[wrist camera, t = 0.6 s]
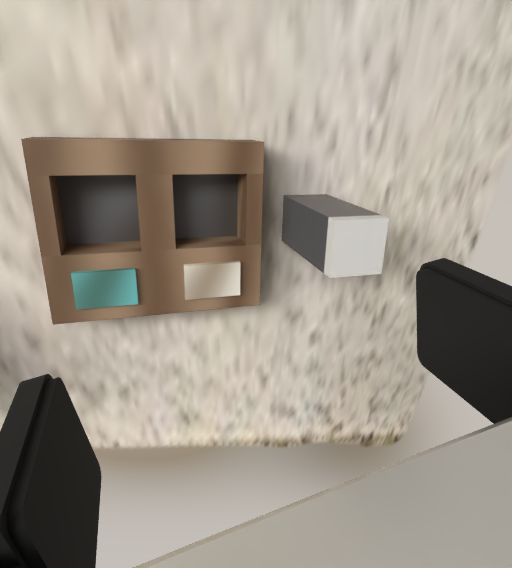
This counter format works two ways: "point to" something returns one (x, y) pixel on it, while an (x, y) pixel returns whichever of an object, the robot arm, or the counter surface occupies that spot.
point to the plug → (335, 234)
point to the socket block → (146, 224)
